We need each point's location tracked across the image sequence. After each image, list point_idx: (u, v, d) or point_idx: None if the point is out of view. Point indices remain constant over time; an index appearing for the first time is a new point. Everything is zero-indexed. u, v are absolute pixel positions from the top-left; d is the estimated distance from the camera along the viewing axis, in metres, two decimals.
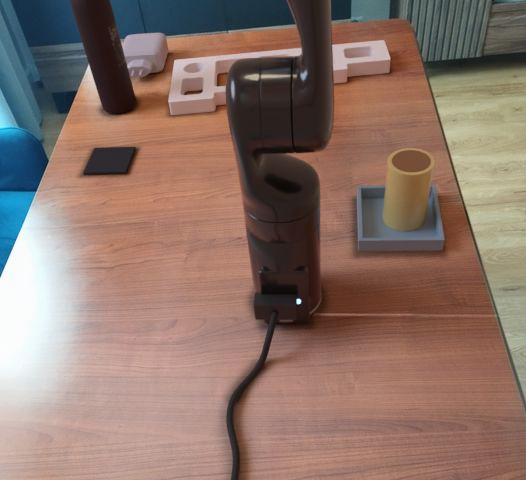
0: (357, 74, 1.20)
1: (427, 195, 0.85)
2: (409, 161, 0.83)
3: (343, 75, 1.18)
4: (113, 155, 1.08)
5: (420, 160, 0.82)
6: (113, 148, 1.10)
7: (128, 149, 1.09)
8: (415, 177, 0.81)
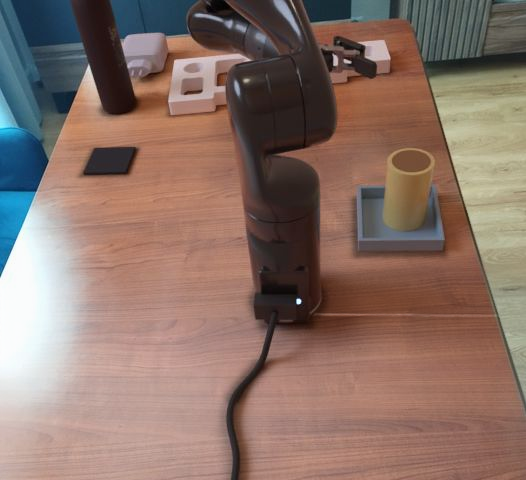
0: (357, 74, 1.20)
1: (427, 195, 0.85)
2: (409, 161, 0.83)
3: (343, 74, 1.18)
4: (113, 155, 1.08)
5: (420, 160, 0.82)
6: (113, 148, 1.10)
7: (128, 149, 1.09)
8: (415, 177, 0.81)
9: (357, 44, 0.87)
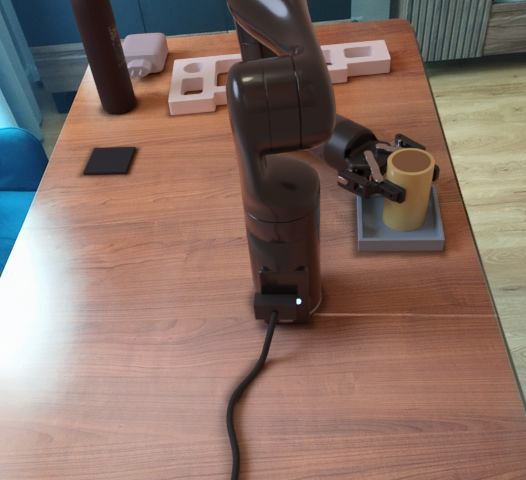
0: (357, 74, 1.20)
1: (427, 195, 0.85)
2: (409, 161, 0.83)
3: (343, 74, 1.18)
4: (113, 155, 1.08)
5: (420, 160, 0.82)
6: (113, 148, 1.10)
7: (128, 149, 1.09)
8: (415, 177, 0.81)
9: (418, 145, 0.88)
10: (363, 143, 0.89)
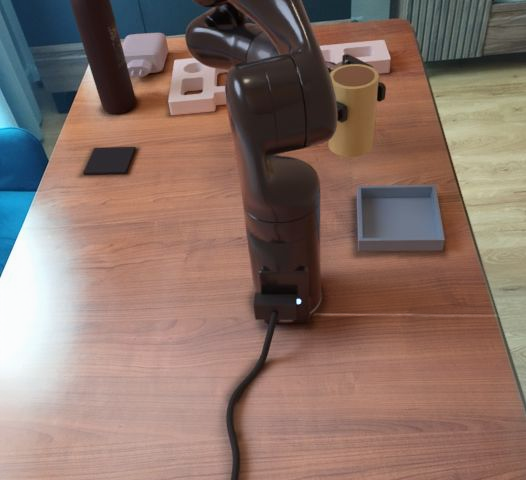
0: None
1: (372, 115, 0.79)
2: (352, 76, 0.77)
3: None
4: (113, 155, 1.08)
5: (363, 75, 0.77)
6: (113, 148, 1.10)
7: (128, 149, 1.09)
8: (357, 91, 0.75)
9: (365, 64, 0.82)
10: None
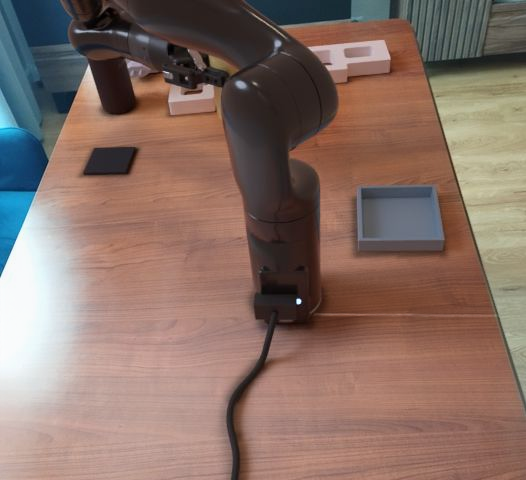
0: (357, 74, 1.20)
1: None
2: None
3: (343, 74, 1.18)
4: (113, 155, 1.08)
5: None
6: (113, 148, 1.10)
7: (128, 149, 1.09)
8: None
9: None
10: None
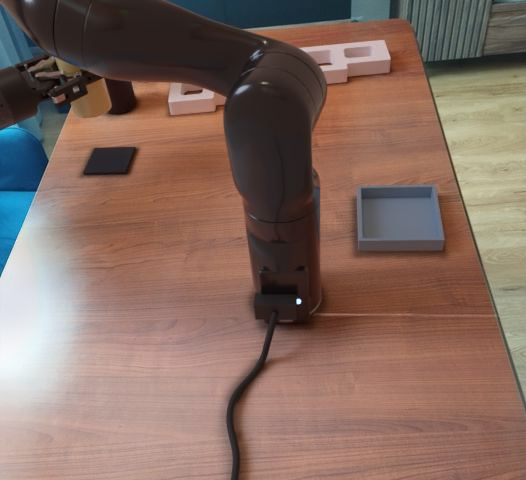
0: (357, 74, 1.20)
1: None
2: None
3: (343, 74, 1.18)
4: (113, 155, 1.08)
5: None
6: (113, 148, 1.10)
7: (128, 149, 1.09)
8: None
9: (39, 56, 0.95)
10: None
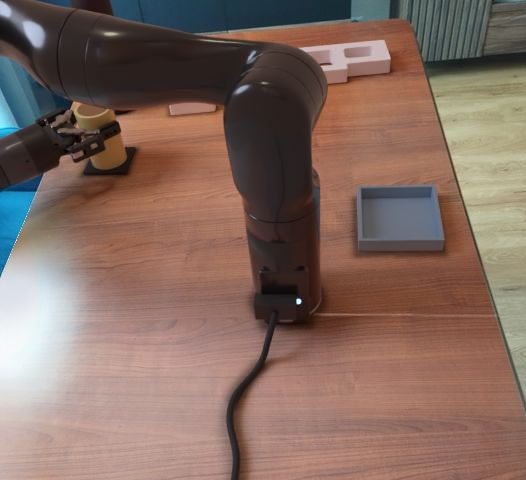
0: (357, 74, 1.20)
1: None
2: (92, 108, 1.00)
3: (343, 74, 1.18)
4: None
5: None
6: None
7: (128, 149, 1.09)
8: None
9: (56, 110, 1.03)
10: None
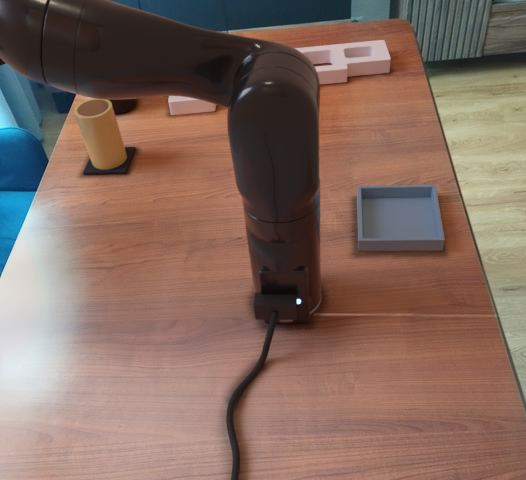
0: (357, 74, 1.20)
1: None
2: (92, 108, 1.00)
3: (343, 74, 1.18)
4: None
5: (94, 103, 1.01)
6: None
7: (128, 149, 1.09)
8: (112, 108, 1.00)
9: None
10: None
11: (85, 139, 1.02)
